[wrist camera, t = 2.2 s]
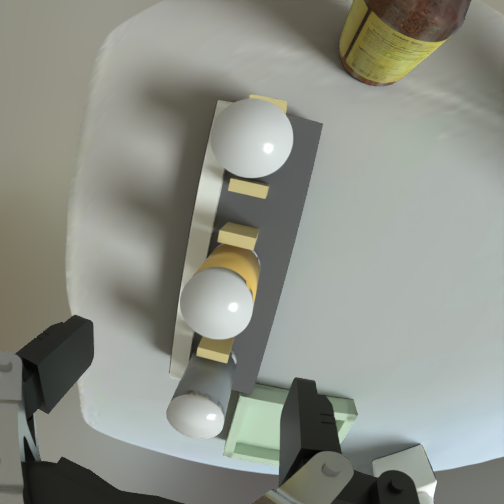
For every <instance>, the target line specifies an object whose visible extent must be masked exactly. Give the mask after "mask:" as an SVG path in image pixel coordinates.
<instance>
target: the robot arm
mask: <svg viewBox="0 0 504 504" xmlns="http://www.w3.org/2000/svg"><path fill="white" fill-rule="evenodd" d="M93 357H94V337H93V322H92V321H91V320H88V319H85V318H83V317H80V316H77V315H74V316H72V317H71V318H70V319H68V320H67V321H66V322H65V323H63V322H60V323H57V324H54V325H52V326H50V327H49V328H47V329H46V330H45V331H43V333H41V334H40V335H38V336H37V338H34V339H33V340H32V341H31V342H29V343H28V344H27V345H26V346H24V347H23V348H22V349H21V350H20V351H18V352H17V353H16V354H14V353H11V352H0V504H184V503H180V502H176V501H173V500H169V499H165V498H162V497H159V496H153V495H145V494H138V493H130V492H125V491H121V490H118V489H116V488H115V487H113V486H112V485H110V484H109V483H107V482H106V481H104V480H103V479H102V478H100V477H99V476H98V475H96V474H95V473H93V472H92V471H91V470H89V469H86V468H84V467H82V466H80V465H78V464H76V463H74V462H72V461H70V460H68V459H66V458H64V457H61V458H60V460H59V461H58V463H53V462H47V461H41V458H40V453H39V445H38V437H37V428H36V417H35V411H36V410H37V409H40V410H42V411H43V412H45V413H47V414H49V413H50V411H51V410H52V409H53V408H54V407H55V405H56V404H57V403H58V402H59V401H60V399H61V398H62V397H63V396H64V395H65V394H66V393H67V391H68V390H69V389H70V388H71V387H72V386H73V385H74V383H75V382H76V381H77V380H78V379H79V378H80V377H81V376H82V374H83V373H84V372H85V371H86V370H87V369H88V368H89V366H90V365H91V363H92V360H93ZM253 504H420V502H419V498H418V494H417V490H416V486H415V483H414V481H413V480H412V478H411V477H410V476H408V475H407V474H406V473H404V472H401V471H398V470H388V471H385V472H383V473H382V474H381V475H380V476H379V477H374V476H370V475H367V474H363V473H360V472H358V471H356V470H354V469H353V465H352V463H351V462H350V461H349V460H348V459H347V458H346V457H345V456H343V455H342V453H341V447H340V442H339V436H338V431H337V426H336V420H335V417H334V410H333V405H332V404H331V402H330V401H329V399H328V398H327V397H326V395H319V394H317V389H316V383H315V381H314V380H308V379H302V378H297V377H295V378H294V380H293V382H292V385H291V388H290V390H289V393H288V395H287V398H286V401H285V403H284V406H283V409H282V412H281V417H280V453H279V488H278V489H277V490H274V489H272V490H270V491H269V492H267V493H266V494H264V495H263V496H262V497H261V498H259V499H258V500H257V501H255V502H254V503H253Z"/></svg>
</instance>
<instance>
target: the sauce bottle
mask: <svg viewBox="0 0 504 504" xmlns="http://www.w3.org/2000/svg"><path fill="white" fill-rule="evenodd" d="M470 2H471V0H354V1H353V4H352V6H351V9H350V12H349V14H348V17H347V19H346V22H345V25H344V28H343V30H342V33H341V36H340V41H339V53H340V57H341V60H342V63H343V66H344V67H345V69H346V70H347V71H348V72H349V73H350V74H351V75H352V76H353V77H355V78H357V79H358V80H359V81H361V82H363V83H365V84H368V85H373V86H386V85H390V84H393V83H394V82H396V81H398V80H400V79H402V78H403V77H404V76H406V75H407V74H408V73H409V72H410V71H411V70H412V69H414V68H415V67H416V66H417V65H418V64H419V63H421V62H422V61H423V60H424V59H425V58H426V57H428V56H429V55H430V54H431V53H432V52H433V51H435V50H436V49H437V48H438V47H439V46H440V45H442V44H443V43H444V42H445V41H446V40H447V39H449V38H450V37H451V36H452V35H453V34H454V33H455V32H456V31H457V30H458V29H459V28H460V27H461V25H462V23H463V21H464V20H465V16H466V13H467V10H468V7H469V5H470Z"/></svg>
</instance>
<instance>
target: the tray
mask: <svg viewBox="0 0 504 504" xmlns="http://www.w3.org/2000/svg"><path fill="white" fill-rule="evenodd" d="M288 393H289V390H286V389H281V388H275V387H270V386H265V385H261V384H256V383H255V385H254V388H253V392H252V394H247V393H243V392H240V393H239V397H238V400H237V404H236V407H235V411H234V414H233V418H232V422H231V425H230V429H229V432H228V435H227V439H226V443H225V448H224V453H223V456H227V457H231V458H236V459H241V460H246V461H252V462H257V463H263V464H270V465H276V466H279V453H280V417H281V412H282V409H283V406H284V403H285V401H286V398H287V395H288ZM326 397H327V398H328V399H329V401H330V402H331V404H332V405H333V410H334V417H335V420H336V426H337V431H338V436H339V442H340V444H341V443H342V441H343V439H344V438H345V436H346V434H347V433H348V431H349V429H350V428H351V426H352V424H353V422H354V421H355V419H356V417H357V415H358V414H357V410H356V407H355V403H354V400H351V399H343V398H336V397H328V396H326Z"/></svg>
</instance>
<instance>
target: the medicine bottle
mask: <svg viewBox="0 0 504 504" xmlns="http://www.w3.org/2000/svg"><path fill="white" fill-rule="evenodd" d="M372 466H373V476H374V477H379V476H380V475H381V474H382V473H383V472H385V471H388V470H398V471H401V472H404V473H406V474H407V475H408V476H410V477H411V478H412V480H413V481H414V483H415V486H416V490H417V494H418V498H419V502H420V504H435V503H434V500H433V496H434V492H435V487H436V483H437V479H436V477H435V474H434V472H433V469H432V467H431V464H430V462H429V460H428V457H427V455H426V452H425V450H424V448H423V445H418V446H415V447H412V448H409V449H407V450H404V451H401V452H398V453H395V454H392V455H389V456H386V457H382V458H379V459H376V460H373V461H372Z"/></svg>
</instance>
